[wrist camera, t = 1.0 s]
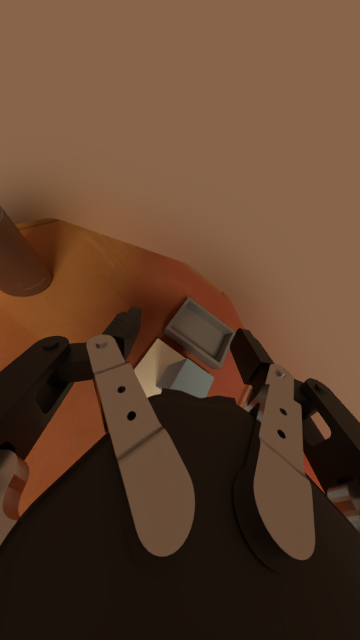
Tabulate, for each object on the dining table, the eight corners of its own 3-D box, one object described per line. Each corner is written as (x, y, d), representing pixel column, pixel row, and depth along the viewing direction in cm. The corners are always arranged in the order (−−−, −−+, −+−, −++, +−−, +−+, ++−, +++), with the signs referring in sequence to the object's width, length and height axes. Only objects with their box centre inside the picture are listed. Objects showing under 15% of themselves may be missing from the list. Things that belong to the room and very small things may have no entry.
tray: (162, 332, 36) (165, 327, 32) (183, 303, 41) (188, 296, 38) (212, 369, 36) (221, 368, 33) (227, 336, 42) (236, 332, 38)
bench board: (122, 386, 29) (121, 386, 27) (156, 340, 35) (157, 338, 33) (184, 430, 29) (187, 433, 28) (208, 377, 35) (212, 377, 33)
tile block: (155, 385, 29) (168, 390, 18) (168, 364, 31) (187, 358, 21) (174, 399, 29) (199, 412, 19) (186, 377, 32) (214, 377, 21)
